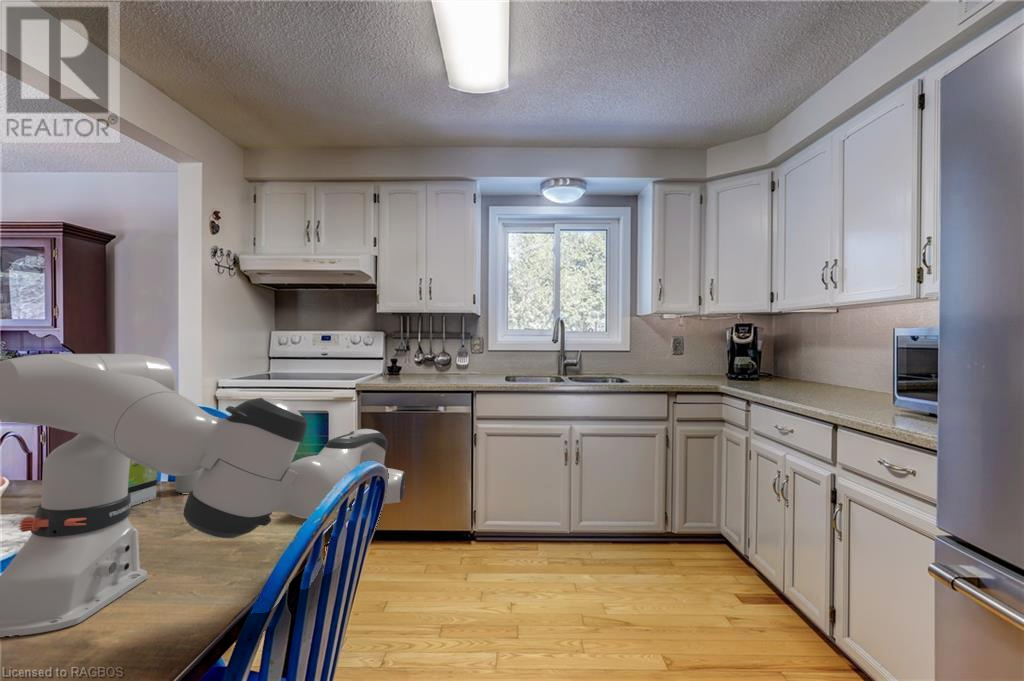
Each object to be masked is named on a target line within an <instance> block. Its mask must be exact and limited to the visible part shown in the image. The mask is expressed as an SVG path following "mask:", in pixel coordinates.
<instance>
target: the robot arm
mask: <svg viewBox="0 0 1024 681" xmlns="http://www.w3.org/2000/svg"><path fill="white" fill-rule="evenodd" d="M177 384H178V383H177V375H176V372H175V370H174V368H173V367H172V365H171V364H170V363H169V361H167V360H166V359H164V358H162V357H161V358H160V357H155V356H152V355H145V354H138V353H41V354H35V355H34V354H33V355H26V356H24V355H23V356H20V357H14V358H13V357H12V358H7V359H3V360H1V361H0V421H1V422H4V423H5V422H7V423H17V424H29V425H37V426H43V427H49V428H54V429H57V430H62V431H66V432H70V433H75V434H77V435H75V436H74V437H73V438H71V439H70V440H68V441H66V442H64V443H62V444H60V445H58V446H57V447H56V448H54V449H52V451H50V453H49V454H48V456H46V458H45V460H44V461H43V464H42V479H41V482H42V483H41V484H42V485H41V504H40V505H39V506H38V507H37V509H36V512H35V514H34V516H33V517H25V518H22V520H21V522H20V523H19V530H20V532H23V533H24V532H30V533H31V535H30V537H29V538H28V540H27V541H26V542H25V543H24V545H23V546H22V547H21V549H20V550H19V551H18V552H17V554H16V555H15V557H14V558H12V560H11V562H10V563H9V564H8V565H7V566H6V568H5V569H4V571H3V572H2V573H1V574H0V638H6V637H5V636H9V635H19V636H27V635H35V634H41V633H46V632H51V631H56V630H60V629H64V628H67V627H71V626H75V625H78V624H79V623H81V622H84V620H86V619H88V618H90V616H92V615H94V614H95V613H97V612H98V611H100V610H102V609H103V608H105V606H108V605H109V604H111V603H112V602H113V601H115V600H116V599H118V598H119V597H121V596H123V595H124V594H125V593H127V592H128V591H130V590H131V589H133V588H135V587H136V586H138V585H140V584H141V583H143V582H144V581H145V580H147V579H148V571H147V570H145V569H143V568H141V566H140V564H141V563H140V550H139V548H140V547H139V546H140V545H139V544H140V543H139V531H138V530H137V529H136V528H135V527H134V525H133V524H132V523H131V521H130V518H129V516H130V515H131V509H132V506H131V495H130V493H128V480H129V469H130V460H132V461H134V462H136V463H138V464H140V465H142V466H144V467H147V468H149V469H151V470H154V471H157V472H158V473H161V474H164V475H169V476H175V477H176V476H181V475H187V474H191V473H194V472H196V471H198V470H200V469H201V468H203V467H204V469H203V470H202V472H201V475H200V477H199V479H198V481H197V483H196V486H195V488H194V490H193V491H191V492H190V493H189V494H188V496H187V498H186V501H185V504H184V508H183V514H182V515H183V517H184V519H185V521H186V523H187V524H188V525H189V526H190V527H192V528H193V529H195V530H197V531H198V532H199V533H201V534H202V535H206V536H208V537H213V538H217V539H218V538H221V539H235V538H239V537H241V536H244V535H246V534H249V533H251V532H252V531H254V530H256V529H257V528H259V526H264V527H265V526H268V525H270V523H271V521H272V518H271V515H272V514H273V513H274V512H276V511H280V512H284V513H286V514H289V515H292V516H293V517H297V518H300V519H307V520H309V519H308V518H309V517H310V516H311V514H312V513H313V512H314V511H315V509H316V508H317V507H318V506H319V504H320V503H321V501H322V500H323V499H324V498H325V497H326V495H327V494H328V493H329V492H330V491H331V490H332V489H333V486H334V485H335V484H336V483H337V482H338V481H339V480H340V479H342V477H344V476H345V475H346V474H347V473H348V472H350V471H351V470H352V469H354V468H355V467H356V466H358V465H360V464H361V463H363V462H367V461H376V462H379V463H381V464H383V465H384V466H385V458H386V457H385V456H386V454H387V448H388V444H389V442H388V440H387V438H386V436H385V435H384V434H383V433H382V432H381V431H378V430H375V429H371V428H360V429H356V430H352V431H350V432H349V433H346V434H343V435H341V436H340V435H339V436H336V437H334V438H332V439H329V440H328V441H327V442H326V444H325V445H324V447H323V448H322V449H321V450H320V451H319V453H318V454H317V455H316V454H314V455H310V456H305V457H302V458H299V459H297V460H294V461H293V459H294V458H295V455H296V452H297V450H298V448H299V445H300V443H302V442H303V441H304V438H305V435H306V432H307V427H308V421H307V419H306V417H305V416H303V415H302V414H301V412H300V411H299V410H298V409H297V408H296V407H295V406H293V405H292V404H290V403H289V402H286V401H285V400H281V399H275V398H264V397H263V398H262V397H257V398H253V399H248V400H246V401H245V400H244V402H241V403H240V404H238V405H237V406H231V405H229V406H227V407H226V408H225V411H226V412H228V414H231V415H229V416H227V417H225V418H223V417H218V416H215V415H212V414H210V413H208V412H207V411H206V410H204V409H202V408H201V407H200V406H198V404H197V403H194V402H193V401H192V400H190V399H188V398H187V397H185V396H183V395H181V394H180V393H178V392H176V388H177ZM386 468H387V469H388V473H389V479H388V487H387V493H386V498H385V502H384V504H397V503H401V502H402V500H403V499H404V496H405V492H406V484H407V476H406V474H405V471H403V470H399V469H396V468H395V469H394V468H390V467H389V468H388V467H386ZM355 496H356V490H355V491H354V492H353V493H352V495H351V496H350V498H349V508H350V511H351V510H352V509H351V507H352V504H353V502H354V500H355ZM9 637H10V636H9Z"/></svg>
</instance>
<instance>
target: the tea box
mask: <svg viewBox="0 0 1024 681" xmlns="http://www.w3.org/2000/svg"><path fill="white" fill-rule="evenodd" d="M158 473H159V472H157V471H154V470H151V469H149V468H147V467H144V466H142V465H140V464H138V463H136V462H134V461H132V460H130V469H129V480H128V493H130V495H131V507H133V506H136V505H139V504H143V503H146V501H147V502H149V500H150V501H153V500H152V499H154V498H155V499H156V498H157V492H158V491H157V490H158V475H159V474H158ZM155 499H154V500H155ZM142 502H143V503H142Z"/></svg>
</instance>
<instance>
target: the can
mask: <svg viewBox="0 0 1024 681" xmlns="http://www.w3.org/2000/svg"><path fill="white" fill-rule="evenodd" d="M203 469H204V467H203V468H201V469H200V470H198V471H196V472H194V473H191V474H187V475H181V476H175V478H174V479H175V481H174V484H175V486H174V490H175V492H177V493H178V492H179V493H178V494H180V493H190V492H191V491H193V490H194V488H195V486H196V483H197V481H198V479H199V477H200V475H201V472H202V470H203Z"/></svg>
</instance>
